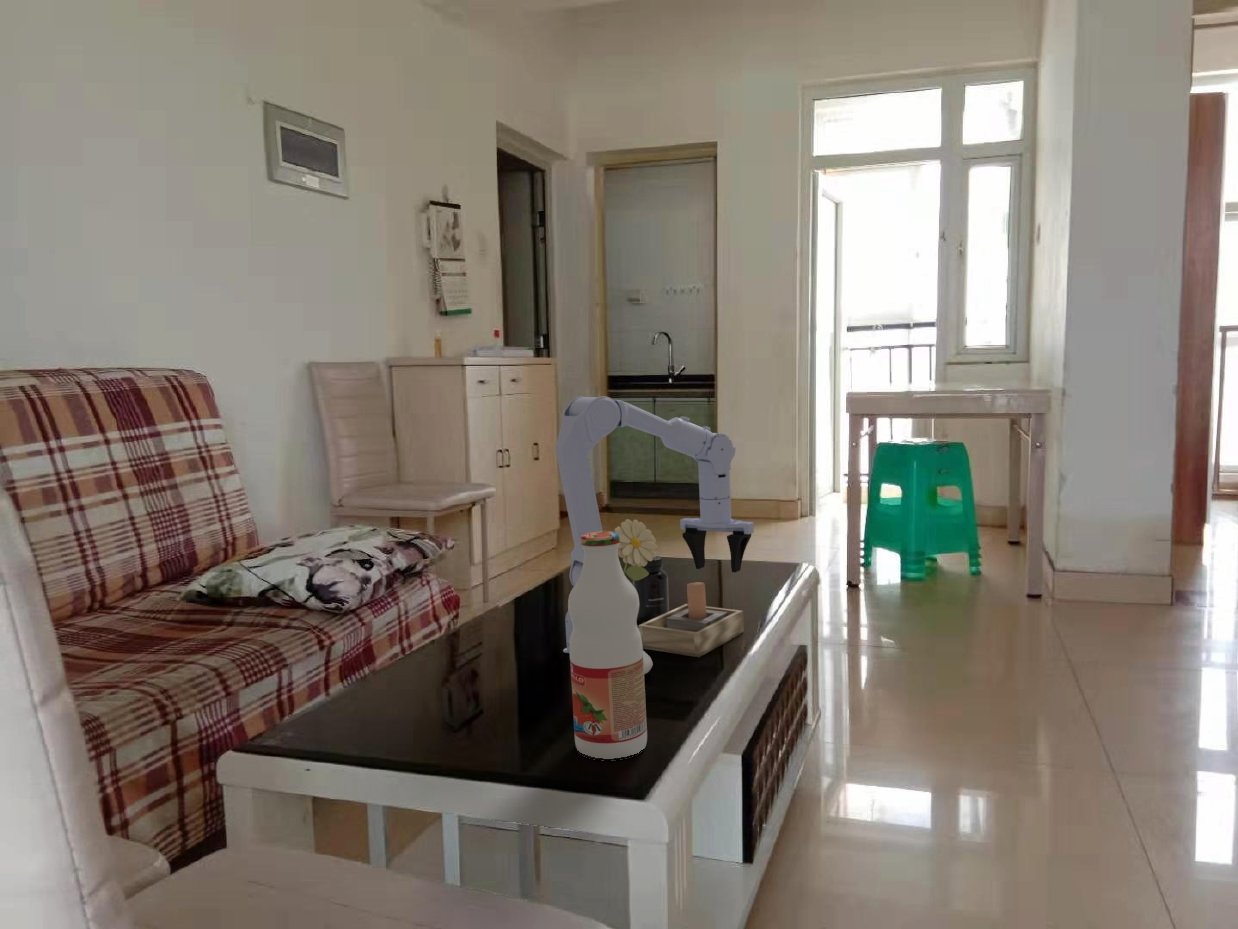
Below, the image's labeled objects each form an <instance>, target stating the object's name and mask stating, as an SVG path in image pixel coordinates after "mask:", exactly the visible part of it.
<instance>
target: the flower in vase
mask: <svg viewBox="0 0 1238 929" xmlns="http://www.w3.org/2000/svg"><path fill="white" fill-rule="evenodd" d="M646 528H647V526H646V525H645V524H644V523H643V522H641V521H639V520H638V519H633V520H631V519H628V518H627V519H625V521H623V522H621V524H620V526H617V527H615V528H614V532H616V533H618V534H619V538H620V543H619V544H620V545H619V547H618V557H619V558H622V562H623V563H624V568H623V569H622V570H623V572H624V574H626V575H627V576H628V577H629V578H630V579H631V580H632V581H633V580H636V581H637V580H640V579H643V578H645V577H646V576H648V575H649V573H648V572H647V571H646V570H645V569H644V568H643V567H641V566H646V565H647V560H648V561H652V560H653V557H656V556H657V553H656V550H657V549H658V545H657V544H656V542H657V539H656V538H655V536H654V534H653V533H652V530H650V529H646ZM628 564H629V565H630V566H628ZM643 664H644V675H646V674H648V673H649V672H650V671H651V669H652V667H653V665H654V664H653V661H652V657H651V656H650V655H648V653H646V651H644V650H643Z"/></svg>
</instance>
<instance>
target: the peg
mask: <svg viewBox="0 0 1238 929" xmlns="http://www.w3.org/2000/svg"><path fill="white" fill-rule="evenodd" d="M686 592H687V594H686V595H687V604H688V614H689V618H691V619H699V620H703V619H705V618H707V615H706V606H707V601H706V585H705V582H700V581H699V582H698V581H697V582H696V581H695V582H689V583H687V584H686Z"/></svg>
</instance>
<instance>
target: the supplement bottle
mask: <svg viewBox="0 0 1238 929" xmlns="http://www.w3.org/2000/svg"><path fill="white" fill-rule="evenodd" d="M663 566H664V565H663V558H662V556H659V555H656V557H653V560H652V561H648V560H647V565H646V566H641V567H643V568H644V569H645V570H646V571H647V572H648V573H649V575H648V576H646V577H645V578H643V579H640V580H637V581H636V580H633V579H632V585H633V586H634V587H635V589H636V591H637V593H638V596H639V612H638V616H637V621H638V622H642V623H645V622H647V621H649V620H652V619H654V618H656V617H658V616H660V615H663V614H665V613H667V612H669V611H670V604H669V601H670V600H669V598H670V597H669V576H668V573H667V572H666V571H665V570H664V569H662V568H663Z"/></svg>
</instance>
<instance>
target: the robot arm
mask: <svg viewBox="0 0 1238 929" xmlns="http://www.w3.org/2000/svg"><path fill="white" fill-rule="evenodd" d="M561 418H562V419H561V420H562V422H561V426H560V429H559V433H558V437H557V440H556V443H555V455H556V460H557V465H558V470H559V475H560V480H561V485H562V489H563V490H562V491H563V495H564V500H565V506H566V511H567V514H568V515H567V516H568V519H569V525H570V532H571V535H572V541H573V545H574V548H572V550H571V553H570V560H571V561H570V563H571V564H570V565H571V566H570V569H569V580H570V583H571V585H572V586H573V587H574V586H575V585H576V583H577V582H578V580H579V578H580V575H581V572H582V568H583V563H584V550H583V549H582V545H581V536H582V535H583V534H586V533H591V532H601V531H603V527H602V521H601V516H600V511H599V505H598V501H597V494H596V490H595V486H594V479H593V475H592V470H591V466H590V464H591V463H590V459H589V454H590V452H591V451H592V450H593V449H594V447H595V446H596V445H597V443H598V442H600V441H601V440H602V439H604V438H605V437H607V436H609V434H611V433H612V432H613V431H614V430H615V429H616V428H624V427H629V428H632V429H635V430H639V431H641V432H644V433H647V434H650V435H653V436H656V437H659V438H660V439H661V442H662V444H663V445H664V447H665V448H667V449H670V450H673V451H675V452H679V453H681V454H683V455H686V456H689V457H691V458H693V459H694V460H695V462H697V468H698V490H699V514H700V517H698V518H695V517H693V518H691V517H685V518H682V519H679V522H680V523H679V525H680V526H679V527H680V528H679V529H680V530H683V531H684V532H682V538H683V540H684V541H685V543H686V544H687V547H688V549H689V551H690V553H691V556H692V558H693V562H694V566H695V569H696V570H701V569H703V568H705V564H706V557H705V556H706V554H705V553H706V552H705V548H706V547H705V544H706V535H707V532H718V533H719V532H722V533H731V534H728V535H726V539H727V543H728V548H729V554H730V567H731V568H730V569H731V572H732V573H737V572H739V571H741V567H742V562H743V559H744V554H745V551H746V549H747V545H748V544H749V542H750V540H751V538H752V534H753V533H755V529H754V527H755V525H754V524H755V523H754V522H753V521H744V520H737V519H732V498H731V495H732V494H731V478H730V477H731V475H730V472H731V467H732V466H731V464H732V460H733V459H734V457H735V455H736V447H734V446H733V442H732V440H731V439H730V437H729V436H728V435H726V434H724V433H719V432H718V433H717V432H712V431H711V427H710V426H706V425H704V426H699V425H697V424H695V423H692V422H690V420H691V418H689V417H687V416H680V417H677V416H676V417H673V418H671V419H669V420H666V419H664V418H662V417H660V416H658V415H655V414H654V413H651V412H648V411H646V410H644V409H642V408H640V407H639V406H638V407H637V406H636V405H633V404H631V403H629V402H626V401H623V400H620V399H619V400H618V399H613V398H611V397H609V396H603V395H602V396H598V397H596V396H586V395H583V396H582V395H580V396H577V397H574V398H573V399H572V400H571V401H570V402H569V403H568V405H567V406H565V409H564V410H563V411H562V412H561ZM564 619H565V620H564V621H565V622H564V623H565V639H566V647H565V648H564V649H563V650H562V651H563V653H565V654H570V637H571V634H572V631H573V623H572V620H571V617H570V614H569V610H567V612H566V613H565V617H564Z"/></svg>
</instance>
